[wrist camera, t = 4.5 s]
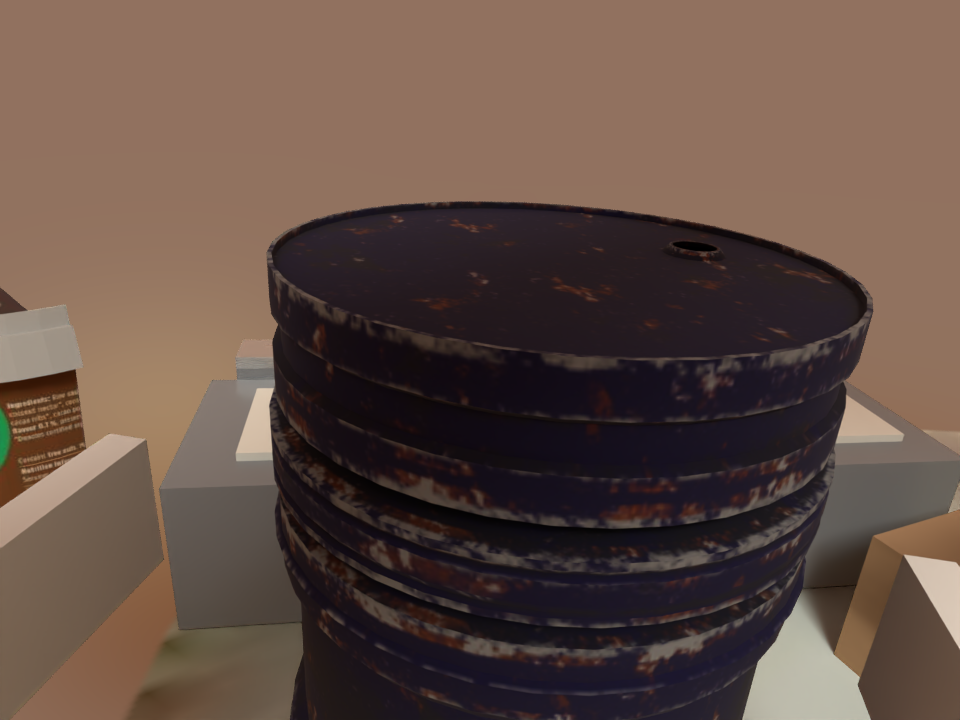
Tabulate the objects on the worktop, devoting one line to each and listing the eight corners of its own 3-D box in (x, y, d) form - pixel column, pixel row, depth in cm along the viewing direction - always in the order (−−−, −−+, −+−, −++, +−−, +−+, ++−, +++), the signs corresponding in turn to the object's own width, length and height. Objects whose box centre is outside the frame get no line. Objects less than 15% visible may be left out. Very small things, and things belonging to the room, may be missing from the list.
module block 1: (419, 613, 24) (423, 471, 22) (179, 629, 23) (157, 480, 21) (406, 487, 32) (408, 371, 29) (223, 494, 30) (211, 373, 28)
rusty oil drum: (347, 1216, 12) (316, 415, 6) (273, 730, 20) (231, 204, 14) (798, 965, 15) (1049, 323, 10) (576, 643, 24) (639, 198, 18)
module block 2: (922, 580, 28) (969, 453, 25) (760, 591, 27) (794, 459, 24) (806, 472, 35) (835, 367, 33) (675, 477, 34) (695, 368, 32)
